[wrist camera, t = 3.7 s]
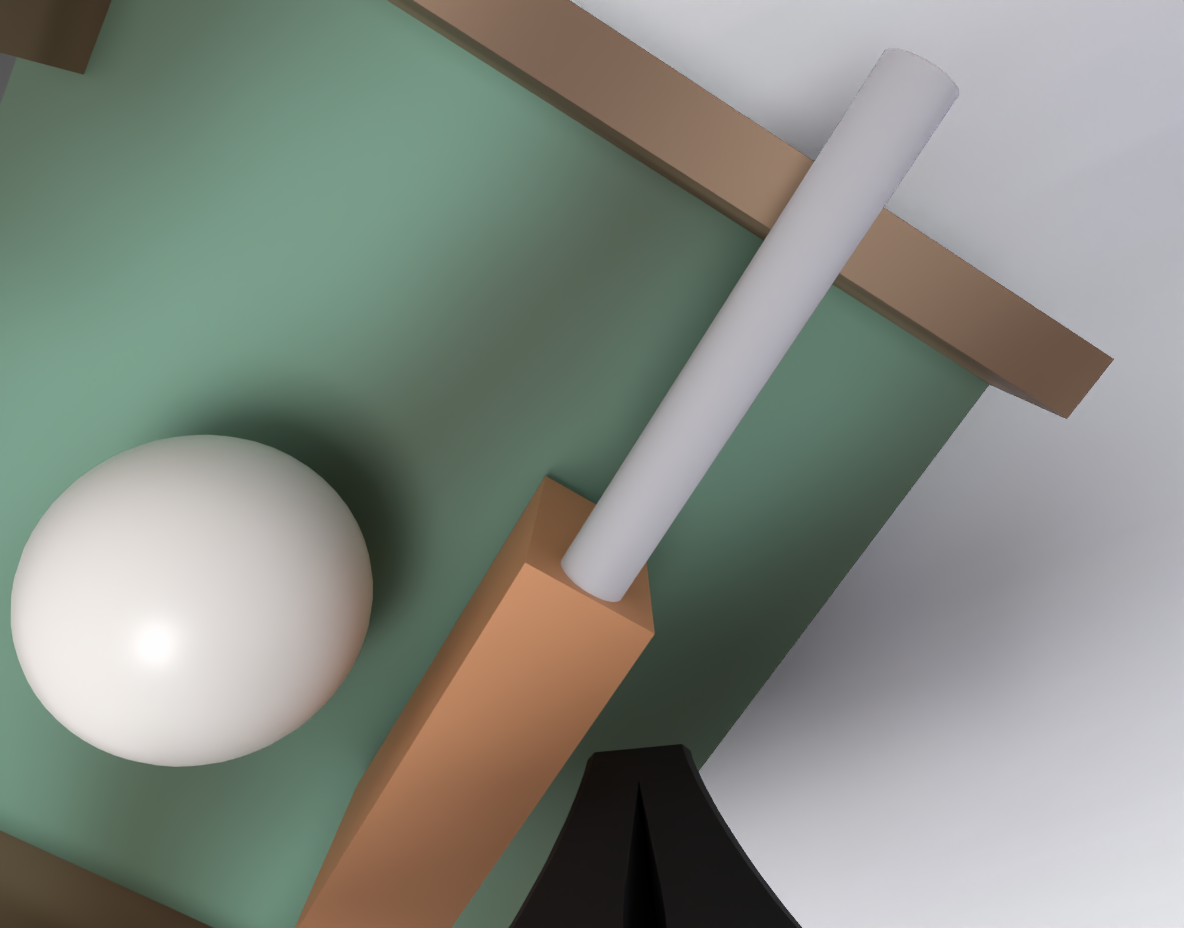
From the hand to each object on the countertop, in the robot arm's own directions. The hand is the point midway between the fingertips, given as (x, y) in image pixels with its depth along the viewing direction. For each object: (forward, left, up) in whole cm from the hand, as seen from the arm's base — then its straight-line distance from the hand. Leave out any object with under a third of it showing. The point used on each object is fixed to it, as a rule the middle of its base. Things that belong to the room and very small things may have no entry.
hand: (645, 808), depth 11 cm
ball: (+6, 0, 0) cm, 6 cm away
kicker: (+3, +1, -1) cm, 3 cm away
